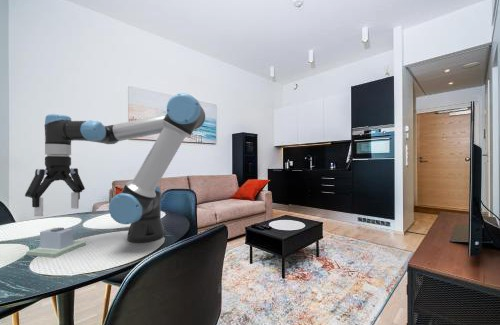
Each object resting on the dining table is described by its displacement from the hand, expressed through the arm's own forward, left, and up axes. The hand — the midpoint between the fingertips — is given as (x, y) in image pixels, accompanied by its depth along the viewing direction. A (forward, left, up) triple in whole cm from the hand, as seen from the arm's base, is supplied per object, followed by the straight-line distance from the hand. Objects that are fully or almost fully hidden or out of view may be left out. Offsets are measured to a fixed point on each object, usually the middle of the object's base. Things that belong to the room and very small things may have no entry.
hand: (58, 212), depth 83 cm
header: (0, 0, -14) cm, 14 cm away
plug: (0, 0, -13) cm, 13 cm away
